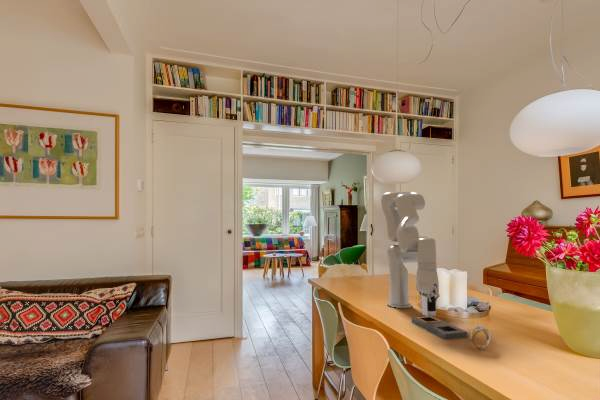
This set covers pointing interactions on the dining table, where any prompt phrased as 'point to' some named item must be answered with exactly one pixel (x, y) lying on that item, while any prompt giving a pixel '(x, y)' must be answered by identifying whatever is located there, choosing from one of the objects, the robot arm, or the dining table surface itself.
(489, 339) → the bracelet
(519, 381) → the dining table surface
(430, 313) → the peg
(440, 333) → the dark grey socket board
